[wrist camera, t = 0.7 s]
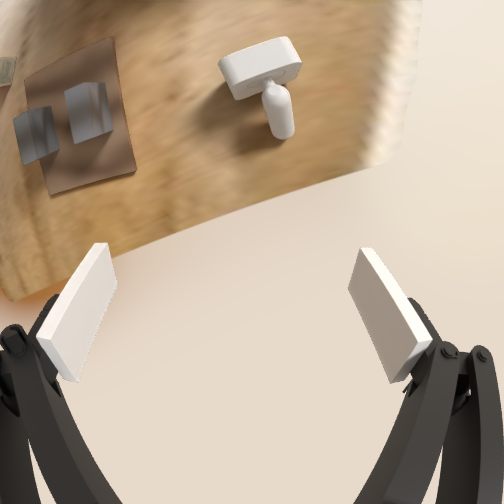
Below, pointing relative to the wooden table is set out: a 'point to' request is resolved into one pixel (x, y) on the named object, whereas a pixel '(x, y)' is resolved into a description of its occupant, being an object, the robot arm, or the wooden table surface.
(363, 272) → the robot arm
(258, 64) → the wall hook
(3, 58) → the small box
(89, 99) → the slotted post block
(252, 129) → the wooden table surface
